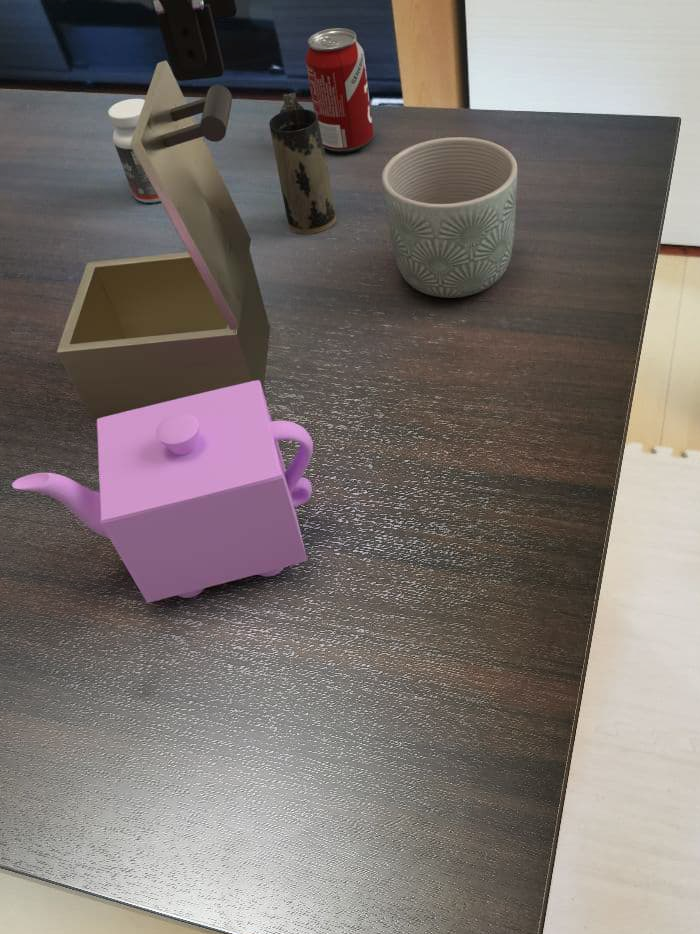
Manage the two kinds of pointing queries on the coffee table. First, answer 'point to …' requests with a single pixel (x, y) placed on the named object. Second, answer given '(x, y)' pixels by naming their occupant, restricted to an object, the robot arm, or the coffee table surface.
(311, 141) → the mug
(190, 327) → the tan open box
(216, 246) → the lid
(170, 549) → the teapot
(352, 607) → the coffee table surface
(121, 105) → the pill bottle
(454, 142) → the planter
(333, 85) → the soda can
